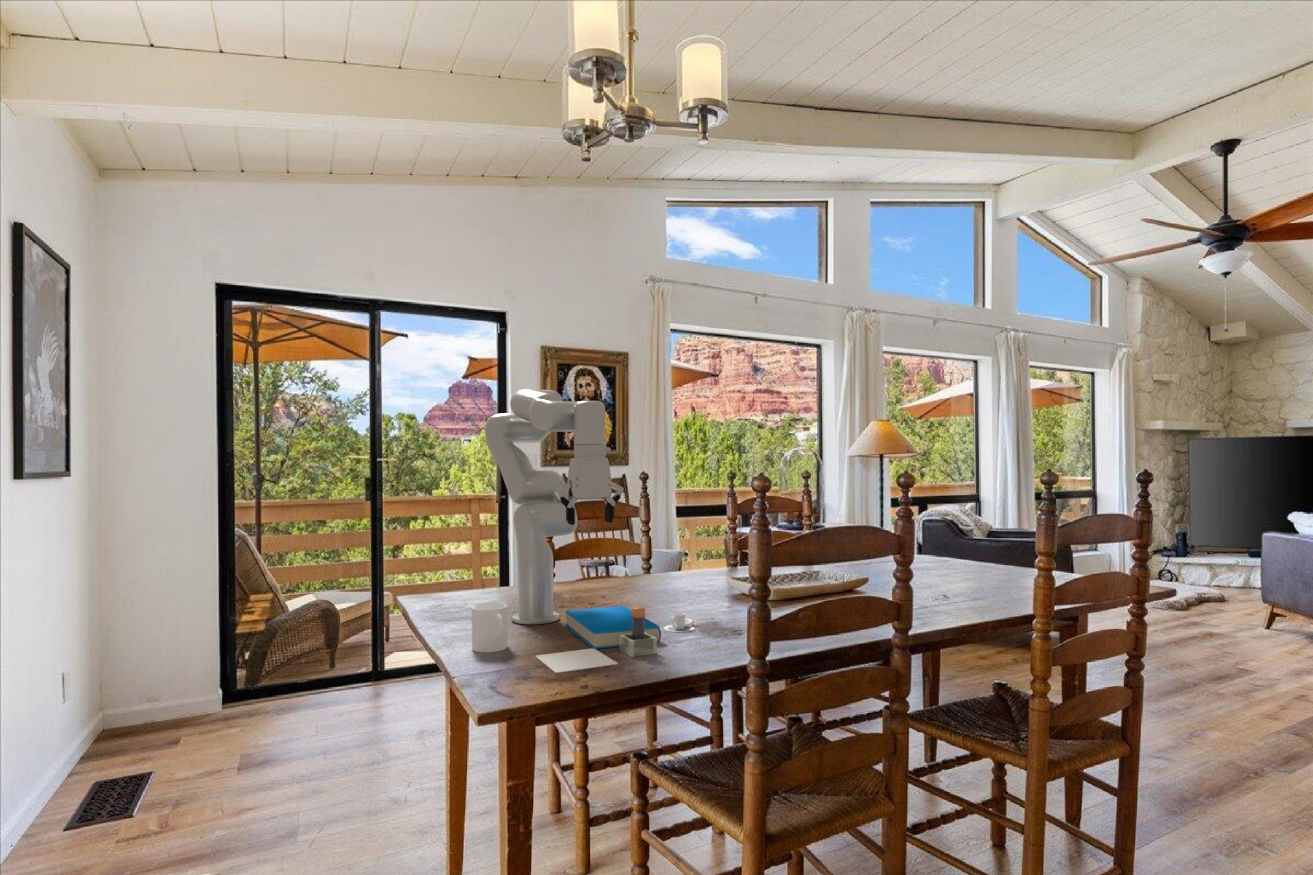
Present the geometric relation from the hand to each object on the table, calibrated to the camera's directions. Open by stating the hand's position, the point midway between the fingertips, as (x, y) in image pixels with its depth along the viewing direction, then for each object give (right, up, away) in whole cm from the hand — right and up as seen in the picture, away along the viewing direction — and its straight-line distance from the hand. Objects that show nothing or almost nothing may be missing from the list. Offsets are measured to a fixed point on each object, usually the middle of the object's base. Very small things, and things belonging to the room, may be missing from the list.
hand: (590, 523), depth 186 cm
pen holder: (+12, -28, -10) cm, 32 cm away
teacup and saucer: (+25, -29, +11) cm, 40 cm away
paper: (-2, -28, -17) cm, 33 cm away
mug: (-22, -29, -8) cm, 37 cm away
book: (+5, -28, +7) cm, 30 cm away
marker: (+12, -28, -10) cm, 32 cm away
